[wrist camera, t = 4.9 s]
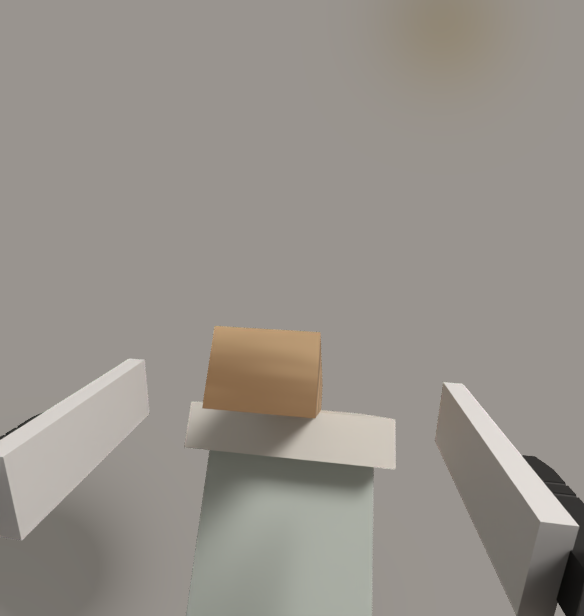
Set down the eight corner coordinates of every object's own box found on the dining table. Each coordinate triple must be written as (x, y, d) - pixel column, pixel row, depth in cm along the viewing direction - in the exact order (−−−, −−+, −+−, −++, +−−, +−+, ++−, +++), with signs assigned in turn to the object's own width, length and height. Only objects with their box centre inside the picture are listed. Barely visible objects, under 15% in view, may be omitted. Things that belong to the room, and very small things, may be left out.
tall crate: (400, 1208, 13) (395, 419, 22) (78, 1096, 15) (191, 401, 23) (354, 733, 32) (361, 413, 41) (216, 706, 34) (251, 404, 42)
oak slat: (315, 418, 11) (320, 332, 12) (202, 408, 12) (214, 325, 12) (321, 410, 40) (322, 385, 41) (288, 407, 40) (290, 382, 41)
